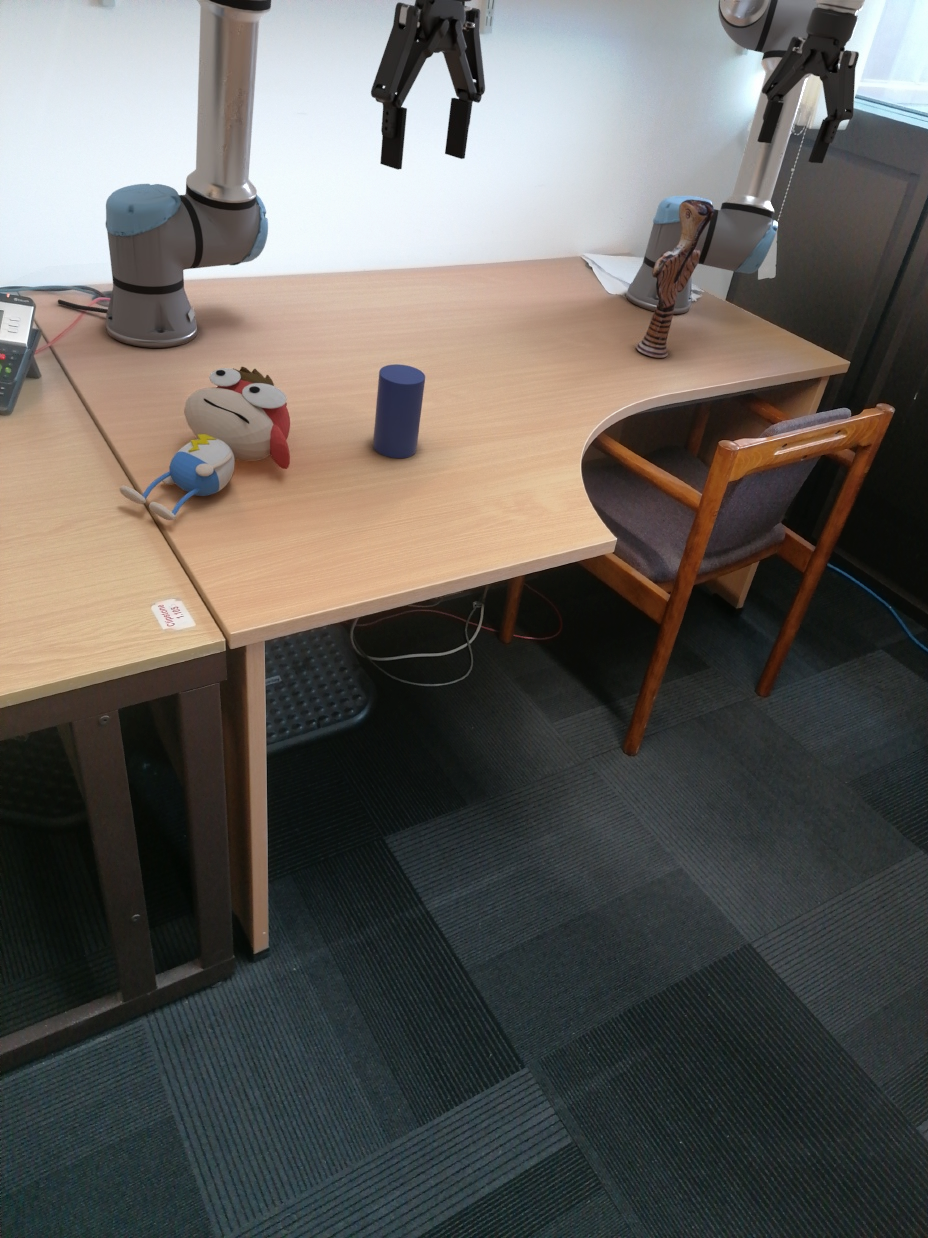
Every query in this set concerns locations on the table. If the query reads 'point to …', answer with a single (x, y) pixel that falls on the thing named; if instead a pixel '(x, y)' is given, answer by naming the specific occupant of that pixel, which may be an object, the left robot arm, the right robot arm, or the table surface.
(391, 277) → the table surface
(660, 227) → the right robot arm
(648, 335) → the figurine
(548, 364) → the table surface
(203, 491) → the toy
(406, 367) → the canister
